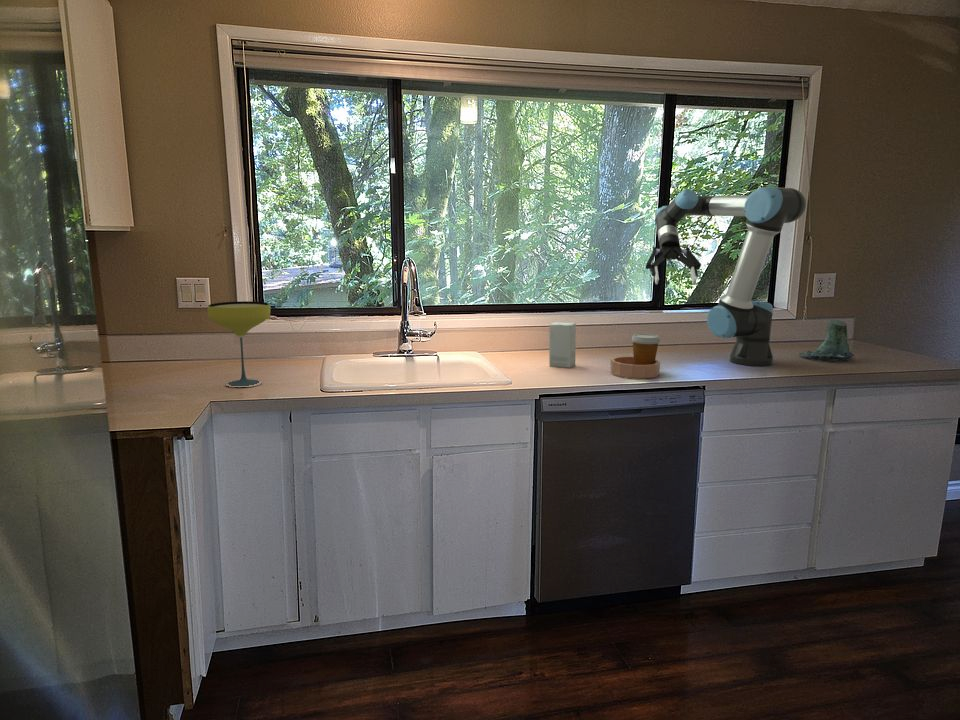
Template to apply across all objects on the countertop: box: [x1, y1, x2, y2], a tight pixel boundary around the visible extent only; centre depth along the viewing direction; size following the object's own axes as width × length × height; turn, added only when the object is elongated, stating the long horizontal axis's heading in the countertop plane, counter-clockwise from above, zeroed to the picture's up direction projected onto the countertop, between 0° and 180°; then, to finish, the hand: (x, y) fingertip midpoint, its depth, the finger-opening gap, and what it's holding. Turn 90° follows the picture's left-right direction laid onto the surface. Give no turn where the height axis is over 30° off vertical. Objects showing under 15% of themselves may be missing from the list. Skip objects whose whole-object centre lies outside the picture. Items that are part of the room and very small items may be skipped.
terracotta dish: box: [609, 355, 661, 380], centre depth 229 cm, size 16×16×4 cm
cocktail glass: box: [207, 300, 271, 386], centre depth 206 cm, size 18×18×25 cm
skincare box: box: [548, 321, 577, 369], centre depth 240 cm, size 8×7×16 cm
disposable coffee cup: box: [630, 333, 661, 365], centre depth 229 cm, size 10×10×12 cm
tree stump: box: [798, 318, 856, 363], centre depth 259 cm, size 18×20×18 cm
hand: (675, 282), depth 247 cm, fingers open, 13 cm apart
